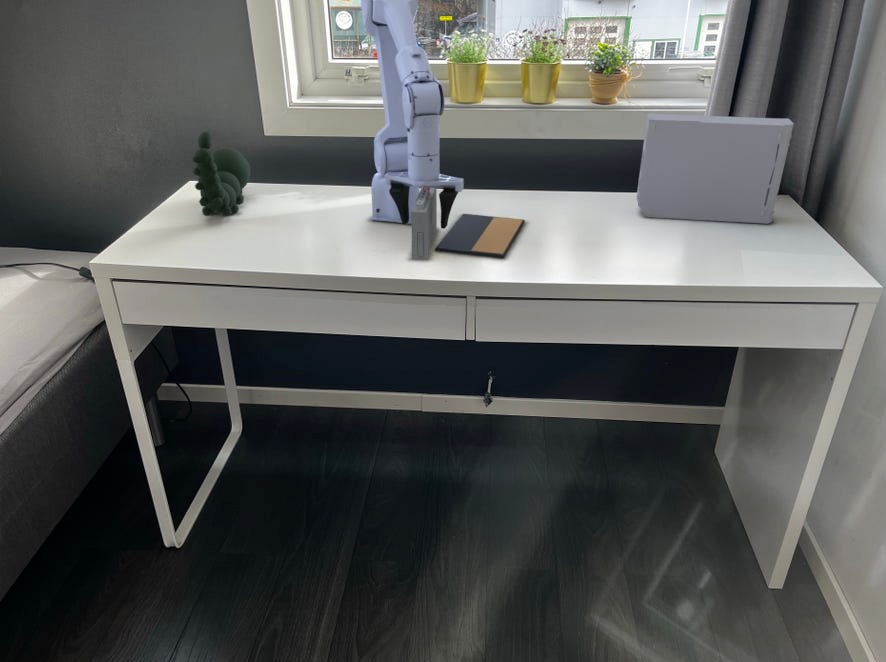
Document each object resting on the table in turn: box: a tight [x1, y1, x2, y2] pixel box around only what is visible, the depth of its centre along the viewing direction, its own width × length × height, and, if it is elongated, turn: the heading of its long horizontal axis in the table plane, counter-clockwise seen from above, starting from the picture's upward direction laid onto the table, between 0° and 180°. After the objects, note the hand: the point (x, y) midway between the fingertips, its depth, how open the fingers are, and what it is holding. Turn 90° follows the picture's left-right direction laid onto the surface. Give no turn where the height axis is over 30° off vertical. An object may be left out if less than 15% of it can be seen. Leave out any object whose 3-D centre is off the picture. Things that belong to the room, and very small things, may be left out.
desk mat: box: [435, 213, 526, 259], centre depth 148 cm, size 13×20×1 cm, turn 164°
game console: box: [636, 112, 794, 225], centre depth 153 cm, size 6×27×20 cm, turn 81°
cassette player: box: [410, 187, 438, 261], centre depth 142 cm, size 16×3×10 cm, turn 174°
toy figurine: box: [192, 130, 251, 217], centre depth 158 cm, size 9×19×25 cm
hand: (424, 224), depth 143 cm, fingers open, 7 cm apart
